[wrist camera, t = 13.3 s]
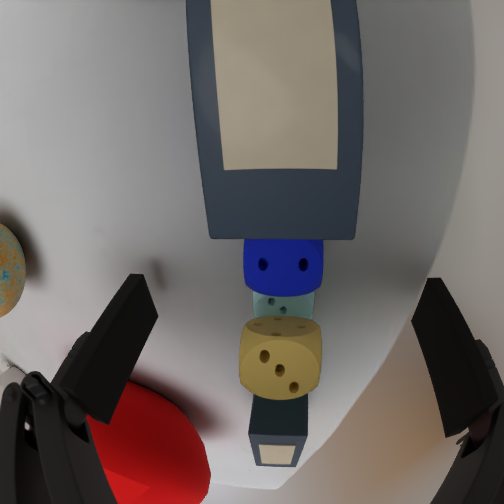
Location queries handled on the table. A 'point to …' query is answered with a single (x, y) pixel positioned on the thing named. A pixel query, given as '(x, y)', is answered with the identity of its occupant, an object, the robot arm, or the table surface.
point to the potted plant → (9, 377)
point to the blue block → (278, 143)
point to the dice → (281, 318)
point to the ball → (10, 270)
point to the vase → (151, 451)
